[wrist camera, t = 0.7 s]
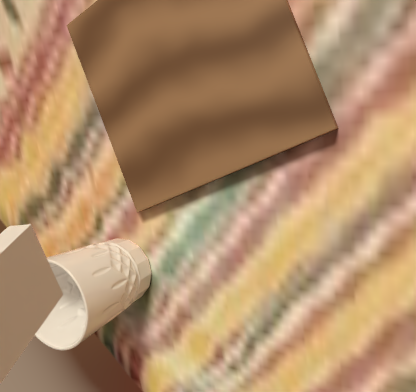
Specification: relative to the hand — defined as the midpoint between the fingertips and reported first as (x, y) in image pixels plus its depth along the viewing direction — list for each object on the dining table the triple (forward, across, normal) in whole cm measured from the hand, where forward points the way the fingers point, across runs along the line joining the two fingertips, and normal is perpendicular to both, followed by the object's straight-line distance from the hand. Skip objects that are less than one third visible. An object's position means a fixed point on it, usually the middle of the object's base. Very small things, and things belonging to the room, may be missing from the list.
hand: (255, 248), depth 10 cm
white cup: (+22, +17, +17) cm, 33 cm away
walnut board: (+26, +7, -1) cm, 27 cm away
